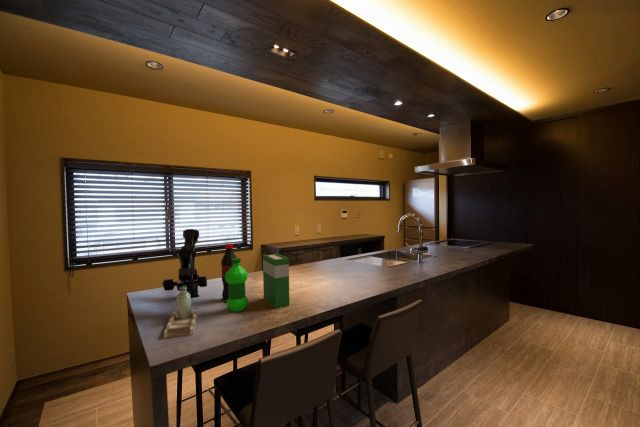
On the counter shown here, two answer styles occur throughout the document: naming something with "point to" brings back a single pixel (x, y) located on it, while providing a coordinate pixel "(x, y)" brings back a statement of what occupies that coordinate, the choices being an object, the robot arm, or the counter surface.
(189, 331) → the rest
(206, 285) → the robot arm
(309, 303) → the counter surface
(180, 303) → the glass bottle
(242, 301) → the plastic bottle
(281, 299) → the green cereal box
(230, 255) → the cola bottle
